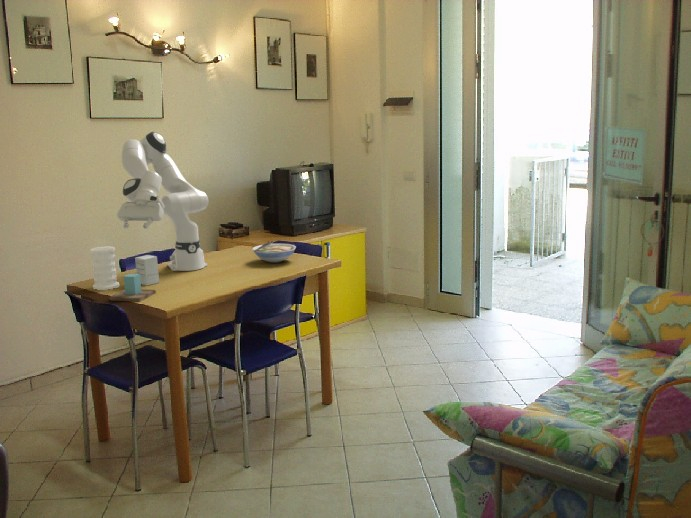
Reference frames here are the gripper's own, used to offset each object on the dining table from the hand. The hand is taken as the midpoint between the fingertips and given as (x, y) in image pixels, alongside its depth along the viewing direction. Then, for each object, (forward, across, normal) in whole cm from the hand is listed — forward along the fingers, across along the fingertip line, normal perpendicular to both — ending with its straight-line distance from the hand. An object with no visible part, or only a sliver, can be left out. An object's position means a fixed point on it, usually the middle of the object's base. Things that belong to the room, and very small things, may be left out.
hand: (135, 227), depth 302 cm
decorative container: (+16, -22, +26) cm, 37 cm away
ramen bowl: (-28, +39, +70) cm, 85 cm away
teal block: (+24, 0, +15) cm, 28 cm away
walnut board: (+25, 0, +16) cm, 30 cm away
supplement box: (+9, -6, +33) cm, 34 cm away
